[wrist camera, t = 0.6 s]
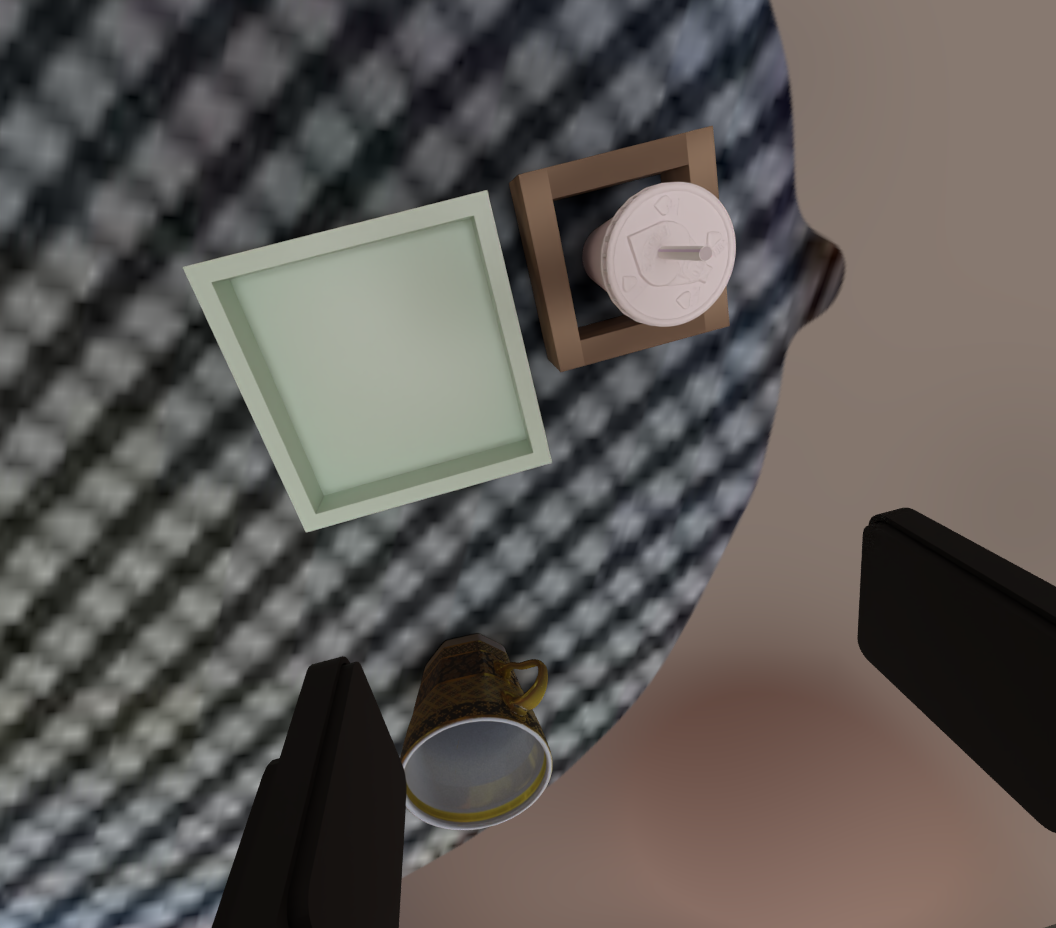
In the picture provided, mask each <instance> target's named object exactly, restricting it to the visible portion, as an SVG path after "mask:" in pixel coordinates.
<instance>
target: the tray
mask: <svg viewBox="0 0 1056 928" xmlns="http://www.w3.org/2000/svg"><path fill="white" fill-rule="evenodd" d="M183 269H184V271H185V273H186V276H187V278H188V280H189V282H190V284H191V286H192V289H193V291H194V293H195V295H196V297H197V299H198V301H199V304H200V306H201V308H202V310H203V312H204V314H205V316H206V319H207V321H208V323H209V325H210V327H211V329H212V331H213V334H214V336H215V338H216V340H217V342H218V344H219V347H220V349H221V351H222V353H223V355H224V357H225V359H226V362H227V364H228V366H229V368H230V370H231V372H232V374H233V377H234V379H235V381H236V383H237V385H238V387H239V390H240V392H241V394H242V396H243V398H244V400H245V402H246V405H247V407H248V409H249V411H250V413H251V415H252V417H253V420H254V422H255V424H256V426H257V428H258V430H259V432H260V435H261V437H262V439H263V441H264V443H265V445H266V448H267V450H268V452H269V454H270V456H271V458H272V460H273V463H274V465H275V467H276V469H277V471H278V473H279V475H280V478H281V480H282V482H283V484H284V486H285V488H286V491H287V493H288V495H289V497H290V499H291V501H292V503H293V506H294V508H295V510H296V512H297V514H298V516H299V518H300V521H301V523H302V525H303V527H304V529H305V531H306V532H310V531H313V530H317V529H320V528H324V527H327V526H331V525H334V524H338V523H341V522H345V521H348V520H352V519H355V518H359V517H362V516H366V515H370V514H373V513H377V512H380V511H384V510H387V509H391V508H394V507H398V506H401V505H405V504H408V503H412V502H415V501H419V500H422V499H426V498H429V497H433V496H437V495H440V494H444V493H447V492H451V491H454V490H458V489H461V488H465V487H468V486H472V485H475V484H479V483H482V482H486V481H489V480H493V479H496V478H500V477H504V476H507V475H511V474H514V473H518V472H521V471H525V470H528V469H532V468H535V467H539V466H542V465H546V464H549V463H552V460H551V456H550V452H549V448H548V444H547V439H546V435H545V431H544V427H543V423H542V418H541V414H540V410H539V406H538V402H537V397H536V393H535V389H534V385H533V381H532V376H531V372H530V368H529V364H528V359H527V355H526V351H525V347H524V343H523V338H522V334H521V330H520V326H519V322H518V317H517V313H516V309H515V305H514V301H513V296H512V292H511V288H510V284H509V280H508V275H507V271H506V267H505V263H504V259H503V254H502V250H501V246H500V242H499V238H498V233H497V229H496V225H495V221H494V217H493V212H492V208H491V204H490V200H489V196H488V191H487V190H486V191H482V192H478V193H474V194H470V195H466V196H462V197H458V198H454V199H450V200H446V201H442V202H438V203H434V204H430V205H426V206H422V207H418V208H414V209H411V210H407V211H403V212H399V213H395V214H391V215H387V216H383V217H379V218H375V219H371V220H367V221H363V222H359V223H355V224H351V225H347V226H343V227H339V228H335V229H331V230H328V231H324V232H320V233H316V234H312V235H308V236H304V237H300V238H296V239H292V240H288V241H284V242H280V243H276V244H272V245H268V246H264V247H260V248H256V249H252V250H248V251H245V252H241V253H237V254H233V255H229V256H225V257H221V258H217V259H213V260H209V261H205V262H201V263H197V264H193V265H189V266H185V267H183Z"/></svg>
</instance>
